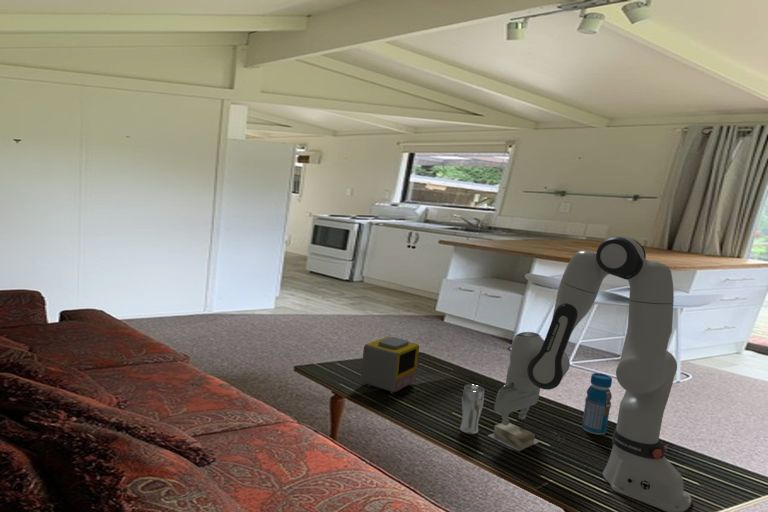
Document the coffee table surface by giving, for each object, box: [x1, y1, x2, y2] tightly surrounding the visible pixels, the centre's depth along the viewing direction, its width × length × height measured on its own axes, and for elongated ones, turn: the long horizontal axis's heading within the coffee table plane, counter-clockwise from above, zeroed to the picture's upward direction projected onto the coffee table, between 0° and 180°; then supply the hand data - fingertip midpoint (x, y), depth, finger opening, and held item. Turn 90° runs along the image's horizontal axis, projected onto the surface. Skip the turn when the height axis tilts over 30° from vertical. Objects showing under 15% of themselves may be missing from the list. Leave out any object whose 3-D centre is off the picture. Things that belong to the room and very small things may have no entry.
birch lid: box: [493, 422, 536, 448], centre depth 167 cm, size 11×7×3 cm, turn 42°
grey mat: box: [487, 432, 540, 452], centre depth 167 cm, size 12×12×1 cm
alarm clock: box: [360, 336, 420, 395], centre depth 204 cm, size 20×16×18 cm
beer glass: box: [459, 384, 485, 435], centre depth 170 cm, size 7×7×15 cm
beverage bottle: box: [581, 372, 613, 436], centre depth 181 cm, size 8×8×20 cm
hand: (513, 421), depth 167 cm, fingers open, 8 cm apart
